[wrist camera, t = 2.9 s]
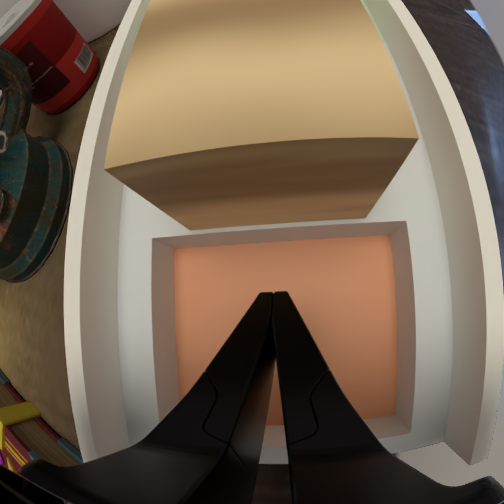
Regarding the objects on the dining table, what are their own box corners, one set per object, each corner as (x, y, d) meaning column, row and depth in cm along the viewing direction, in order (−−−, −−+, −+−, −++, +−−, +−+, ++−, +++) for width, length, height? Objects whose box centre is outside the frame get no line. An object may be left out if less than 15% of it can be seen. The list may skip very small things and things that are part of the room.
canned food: (87, 47, 23) (36, -15, 12) (113, 70, 21) (49, -10, 11) (37, 96, 23) (-24, 45, 12) (52, 129, 21) (-27, 68, 11)
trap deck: (438, 419, 13) (487, 458, 7) (140, 426, 16) (83, 462, 10) (340, -28, 20) (340, -69, 14) (175, -9, 23) (157, -47, 17)
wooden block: (365, 218, 13) (419, 138, 6) (190, 230, 14) (103, 169, 7) (325, 38, 15) (325, -52, 8) (200, 52, 16) (163, -30, 9)
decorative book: (84, 530, 15) (55, 552, 10) (-18, 426, 18) (-49, 433, 13) (103, 465, 16) (62, 492, 11) (-12, 347, 19) (-51, 348, 14)
